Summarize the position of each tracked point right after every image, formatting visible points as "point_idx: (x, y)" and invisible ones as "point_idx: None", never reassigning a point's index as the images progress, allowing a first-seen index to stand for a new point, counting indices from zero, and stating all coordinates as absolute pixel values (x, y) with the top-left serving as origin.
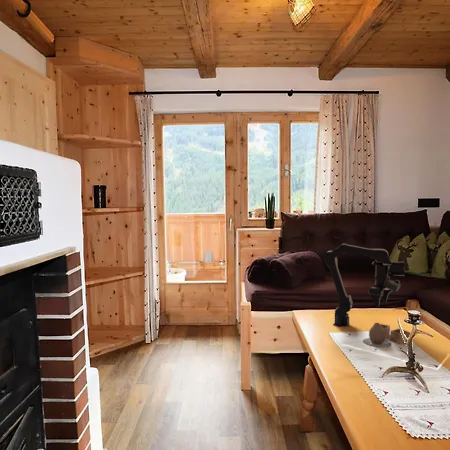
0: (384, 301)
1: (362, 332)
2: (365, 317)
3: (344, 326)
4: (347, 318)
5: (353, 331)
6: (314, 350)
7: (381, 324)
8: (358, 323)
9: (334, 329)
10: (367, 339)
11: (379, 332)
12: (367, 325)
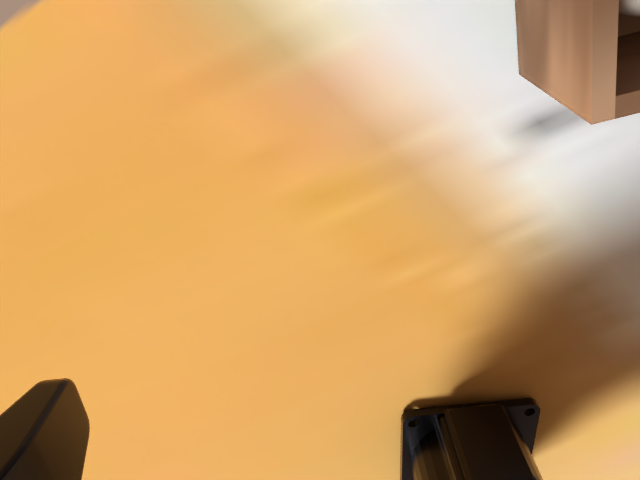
0: (56, 464)
1: (578, 216)
2: None
3: (532, 407)
4: (528, 474)
5: (598, 293)
6: None
7: (612, 30)
8: (286, 383)
9: (635, 421)
10: None
11: None
12: (275, 296)
